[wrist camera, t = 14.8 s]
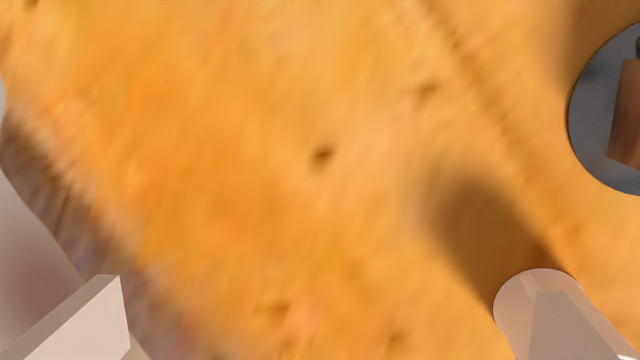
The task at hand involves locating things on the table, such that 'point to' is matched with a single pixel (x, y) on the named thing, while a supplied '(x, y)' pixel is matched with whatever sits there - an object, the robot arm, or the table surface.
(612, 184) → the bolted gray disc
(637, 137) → the collar
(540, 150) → the table surface
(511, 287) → the mug
